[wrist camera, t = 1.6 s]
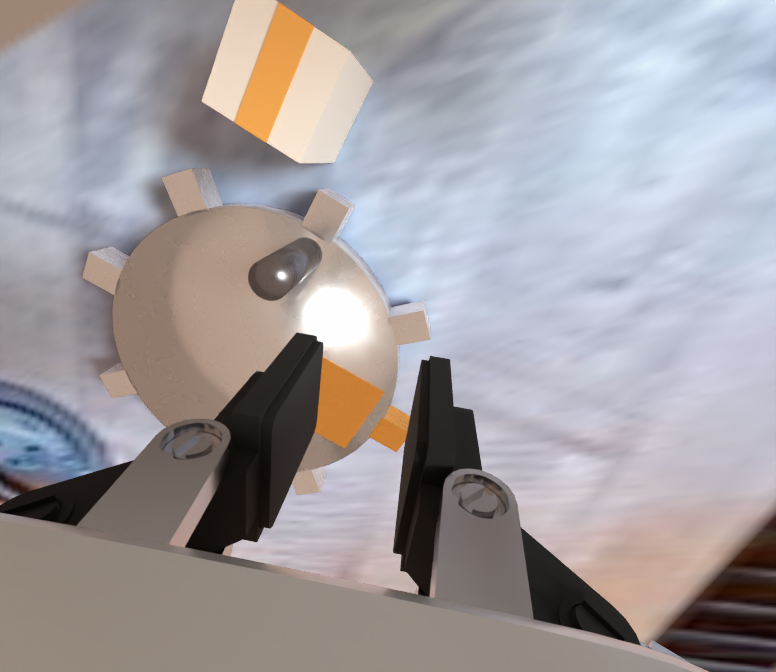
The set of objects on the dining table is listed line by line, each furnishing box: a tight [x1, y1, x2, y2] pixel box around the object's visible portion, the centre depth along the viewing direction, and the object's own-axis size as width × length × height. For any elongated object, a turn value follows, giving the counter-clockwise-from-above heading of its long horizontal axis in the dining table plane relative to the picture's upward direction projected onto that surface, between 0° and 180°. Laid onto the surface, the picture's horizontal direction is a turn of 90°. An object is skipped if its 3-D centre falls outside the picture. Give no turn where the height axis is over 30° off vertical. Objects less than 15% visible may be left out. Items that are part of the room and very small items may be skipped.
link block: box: [202, 0, 374, 163], centre depth 21 cm, size 5×5×7 cm
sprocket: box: [82, 168, 431, 495], centre depth 26 cm, size 24×24×8 cm
